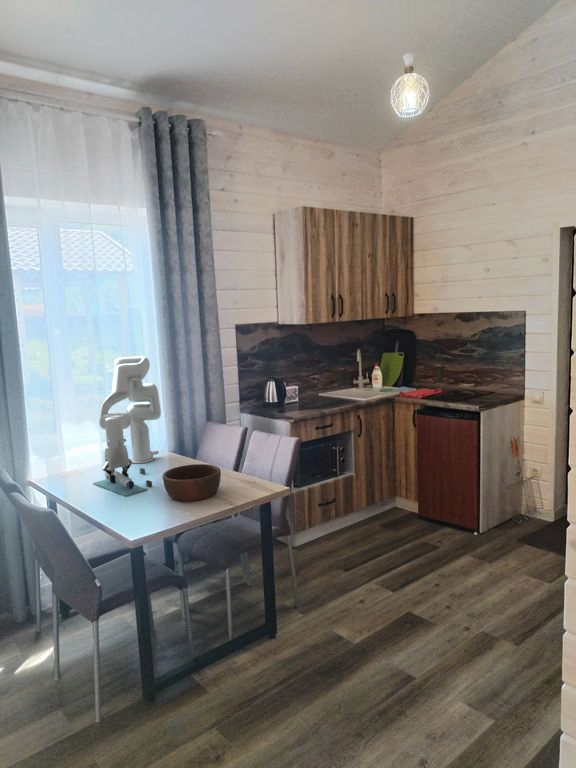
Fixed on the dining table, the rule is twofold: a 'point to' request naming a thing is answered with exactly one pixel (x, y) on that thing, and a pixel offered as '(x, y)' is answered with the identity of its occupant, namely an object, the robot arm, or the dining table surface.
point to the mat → (119, 487)
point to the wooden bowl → (192, 482)
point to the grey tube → (121, 479)
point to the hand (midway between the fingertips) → (119, 481)
